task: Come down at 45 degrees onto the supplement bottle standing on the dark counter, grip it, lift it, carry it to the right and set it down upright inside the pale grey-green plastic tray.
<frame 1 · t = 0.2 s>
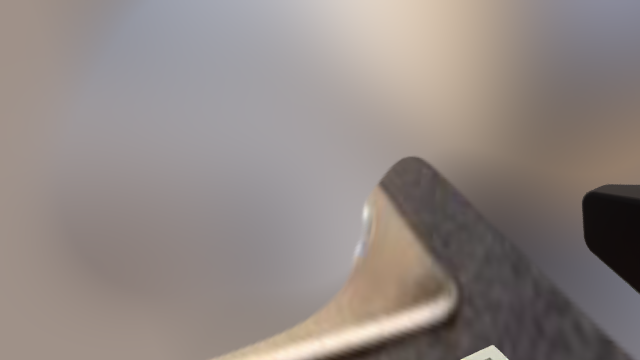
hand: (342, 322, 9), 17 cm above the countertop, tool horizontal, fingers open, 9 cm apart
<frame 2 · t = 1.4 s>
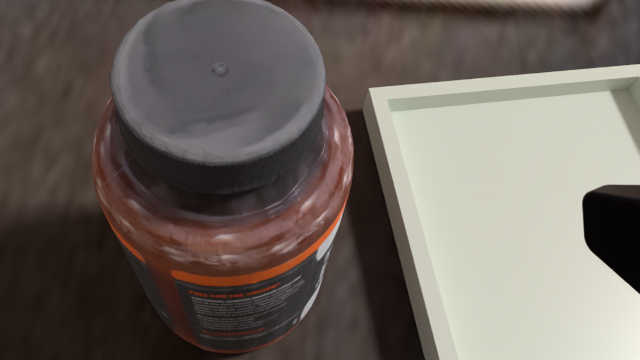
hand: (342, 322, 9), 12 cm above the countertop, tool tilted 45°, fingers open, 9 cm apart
tray: (549, 227, 23), on the countertop
supplement bottle: (235, 272, 21), on the countertop
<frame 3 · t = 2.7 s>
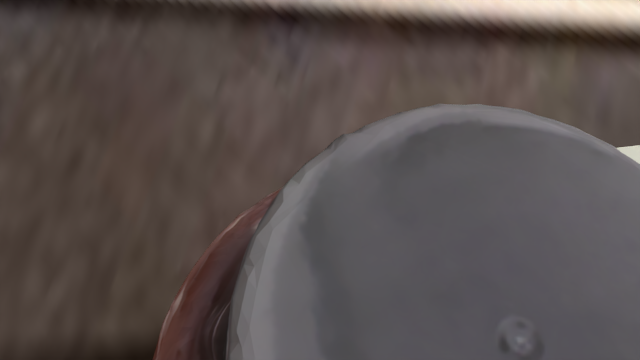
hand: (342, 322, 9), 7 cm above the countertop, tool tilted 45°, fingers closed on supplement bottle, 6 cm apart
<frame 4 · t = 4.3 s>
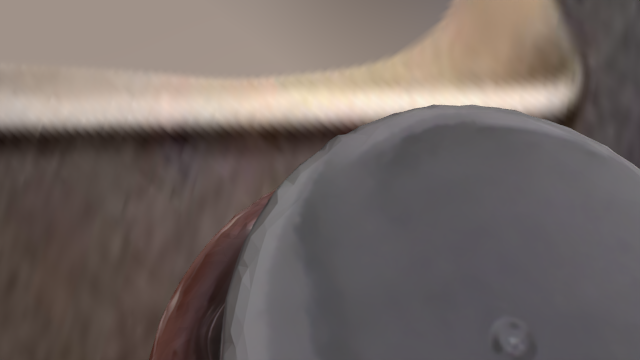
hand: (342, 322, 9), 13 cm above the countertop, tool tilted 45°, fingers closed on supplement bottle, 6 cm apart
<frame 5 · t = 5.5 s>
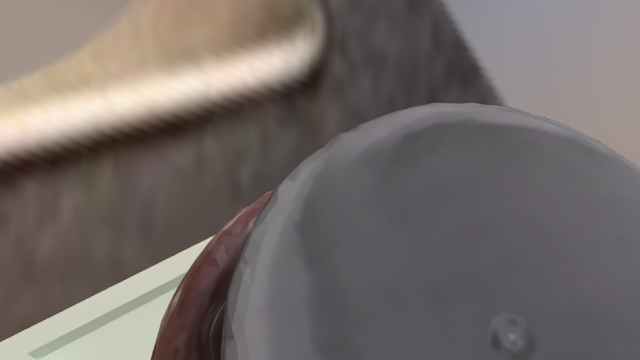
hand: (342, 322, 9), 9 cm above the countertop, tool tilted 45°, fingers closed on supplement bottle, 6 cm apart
when the fingers open (8 cm above the countertop, at t = 6.1 s): supplement bottle drops 1 cm, resting on tray.
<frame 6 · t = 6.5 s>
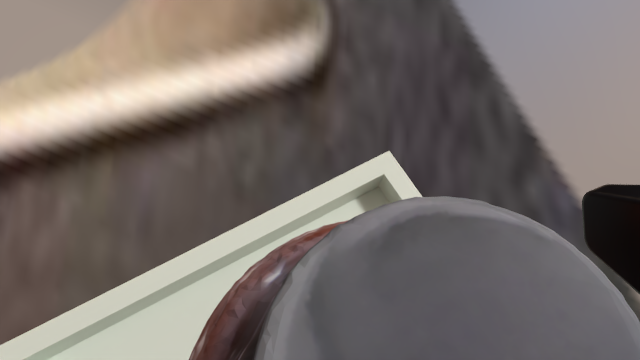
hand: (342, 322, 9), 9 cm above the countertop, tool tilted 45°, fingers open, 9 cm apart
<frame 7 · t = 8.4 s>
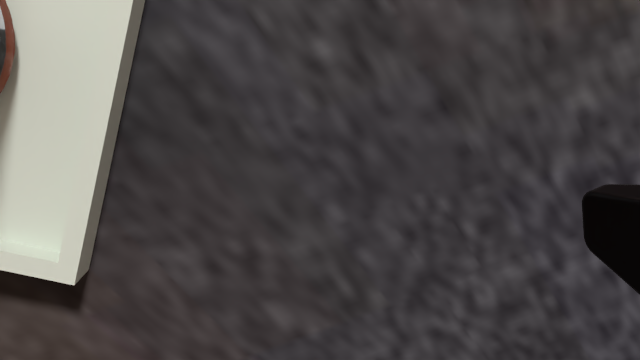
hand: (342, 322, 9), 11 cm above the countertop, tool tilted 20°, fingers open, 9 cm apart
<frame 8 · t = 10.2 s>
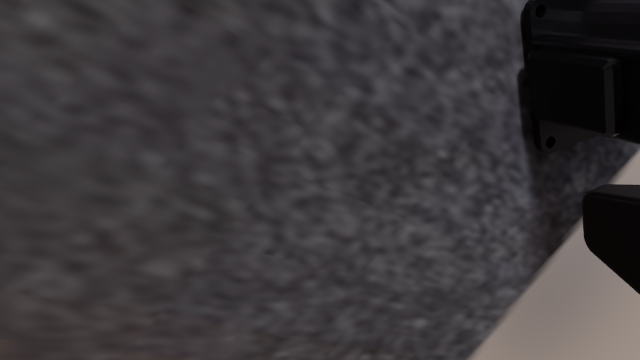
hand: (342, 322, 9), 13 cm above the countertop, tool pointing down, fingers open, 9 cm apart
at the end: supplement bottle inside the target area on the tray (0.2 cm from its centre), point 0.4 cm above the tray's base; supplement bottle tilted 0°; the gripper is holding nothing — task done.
